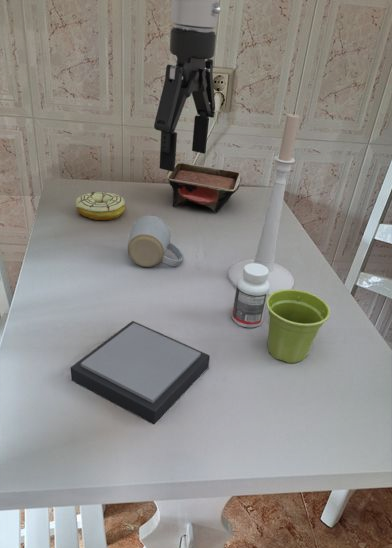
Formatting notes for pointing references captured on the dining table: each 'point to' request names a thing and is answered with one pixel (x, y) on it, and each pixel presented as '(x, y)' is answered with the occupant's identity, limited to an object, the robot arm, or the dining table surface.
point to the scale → (140, 370)
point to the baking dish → (203, 184)
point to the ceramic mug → (152, 243)
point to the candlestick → (273, 218)
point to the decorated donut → (100, 205)
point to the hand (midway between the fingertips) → (183, 160)
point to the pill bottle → (251, 296)
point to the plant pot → (294, 323)
